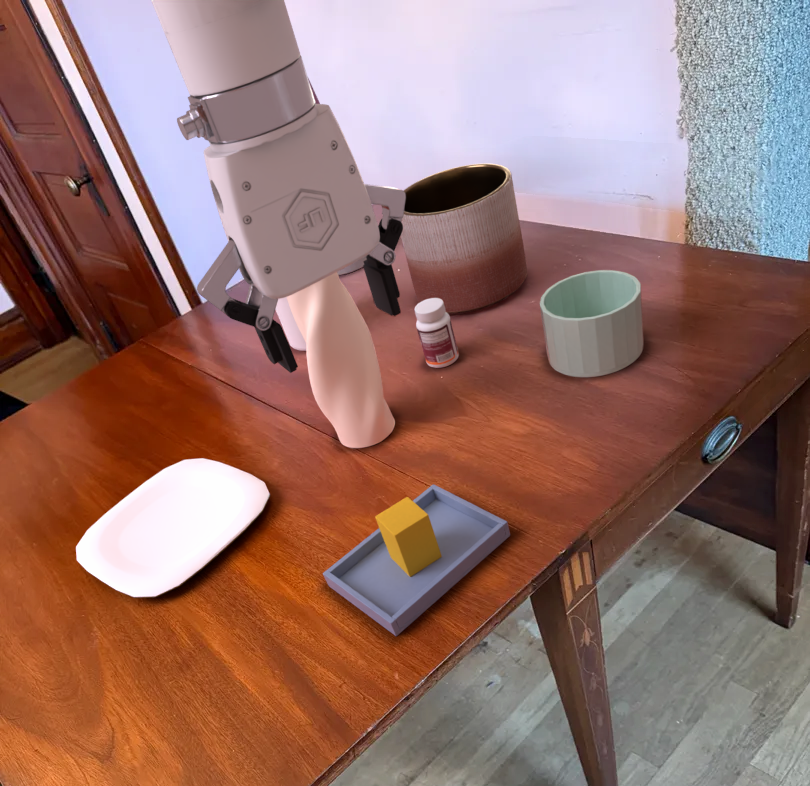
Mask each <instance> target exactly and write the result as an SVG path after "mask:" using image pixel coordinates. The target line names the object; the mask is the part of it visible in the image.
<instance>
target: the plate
mask: <svg viewBox="0 0 810 786" xmlns="http://www.w3.org/2000/svg"><path fill="white" fill-rule="evenodd" d="M270 498H271V493H270V492H269V489H268V487H267V485H266V483H265V481H263V480H261V479H260V478H258V477H256V476H254V475H253V474H251V473H250V472H246V471H244V470H241V469H240V468H237V467H234V466H232V465H229V464H226V463H224V462H221V461H218V460H214V459H213V460H212V459H208V458H205V457H201V458H200V457H199V458H188V459H182V460H181V461H178V462H176V463H174V464H172V465H169V466H167V467H165V468H163V469H161V470H160V471H158V472H157V473H156V474H154V475H153V476H151V477H150V478H149V479H147V480H145V481H144V482H143V483H142V484H141V485H139V486H138V487H137V488H135V489H134V490H133V491H132V492H130V493H128V494H127V495H126V496H125V497H124V498H123V499H121V500H120V501H119V502H118V503H116V504H115V505H114V506H113V507H111V508H110V509H109V510H108V511H107V512H106V513H104V514H103V515H102V516H101V517H99V518H98V519H97V521H95V522H94V523H93V524H92V525H91V526H89V528H88V529H87V530H86V531H85V533H84V534H83V536H82V537H81V538H80V540H79V542H78V543H77V545H76V546H75V552H76V555H75V556H76V561H77V563H79V564H80V566H81V567H82V568H84V570H86V572H88V574H90V575H92V576H93V577H95V579H97V580H99V581H101V582H102V583H104V584H105V585H107V586H108V587H110V588H112V589H113V590H115V591H117V592H119V593H120V594H124V595H126V596H128V597H131V598H134V599H146V598H147V599H149V598H150V599H151V598H158V597H161V596H162V595H164V594H167V593H169V592H171V591H172V590H175V589H177V588H179V587H181V586H182V585H184V584H185V583H187V581H189V580H190V579H192V578H193V577H194V576H196V574H198V573H200V572H201V571H202V570H203V569H204V568H206V567H207V566H208V565H209V564H210V563H211V562H212V561H214V560H215V559H216V558H217V557H218V556H219V555H220V554H222V553H223V552H224V551H225V550H226V549H227V548H229V547H230V545H231V544H233V543H234V542H235V541H236V540H237V539H238V538H239V537H240V536H242V534H243V533H244V532H245V531H247V529H249V527H250V526H251V525H252V524H253V523H254V522H255V520H256V519H257V518H258V517H259V516H260V515H261V514H262V513H263V512H264V510H265V507H266V505H267V504H268V501H269V499H270Z"/></svg>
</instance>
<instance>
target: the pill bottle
mask: <svg viewBox="0 0 810 786" xmlns="http://www.w3.org/2000/svg"><path fill="white" fill-rule="evenodd" d="M414 315H415V318H416V323H415V329H416V331H417V334H418V338H419V342H420V345H421V348H422V352H423V355H424V359H425V362H426V364H427V366H429V367H431V368H435V369H436V368H437V369H441V368H442V369H443V368H445V367H449V366H450V365H453V364H454V363H455V362H456V361H457V360H458V359H459V356H460V353H459V347H458V345H457V341H456V336H455V332H454V328H453V323H452V320H451V316H450V314H448V313H447V312H446V310H445V306H444V302H443V300H442V299H439V298H430V299H426V300H424V301H422V302H420V303H419V302H418V303H417V304H416V305H415V306H414Z"/></svg>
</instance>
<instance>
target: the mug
mask: <svg viewBox="0 0 810 786" xmlns="http://www.w3.org/2000/svg"><path fill="white" fill-rule="evenodd" d="M275 312H276V314H277V317H278V320H279V322H280V325H281V327H282V329H283V331H284V334H285V336H286V338H287V341H288V343H289V346H290V348H292V349H294V350H297V351H300V352H306V350H307V344H306V342H305V340H304V338H303V336H302V334H301V332H300V330H299V328H298V326H297V324H296V321H295V319H294V317H293V314H292V312H291V309H290V306H289V303H288V300H287V297H285V298H280V299H278V302H277V305H276V309H275Z"/></svg>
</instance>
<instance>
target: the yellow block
mask: <svg viewBox="0 0 810 786" xmlns="http://www.w3.org/2000/svg"><path fill="white" fill-rule="evenodd" d="M374 518H375V521H376V524H377V526H378V528H379V529H380V531H381V534H382V536H383V539H384V541H385V544H386V547H387V549H388V552H389V554H390V557H391V558H392V559H393V560H394V561H395V562H396V563H397V564H398V565H399V566H400V567H401V568H402V569H403V570H404V571H405V573H406V574H407V575H408V576H409V577H411V576H413V575H414V574H416V573H418V572H419V571H421V570H422V569H424V568H425V567H427V566H428V565H430V564H431V563H433V562H434V561H436V560H438V559H439V558H441V557H442V556H441V552H440V549H439V546H438V543H437V540H436V537H435V534H434V531H433V528H432V525H431V522H430V519H429V515H428V514H427V513H426V512H425V511H424V510H422V509H421V508H420V507H419V506H418V505H417V504H415V503H414V502H413V500H412V498H411V497H409V496H406V497H404V498H402V499H401V500H399V501H398V502H396V503H394V504H393V505H391V506H390V507H388V508H386V509H385V510H383V511H382V512H379V514H376V515H375V516H374Z"/></svg>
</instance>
